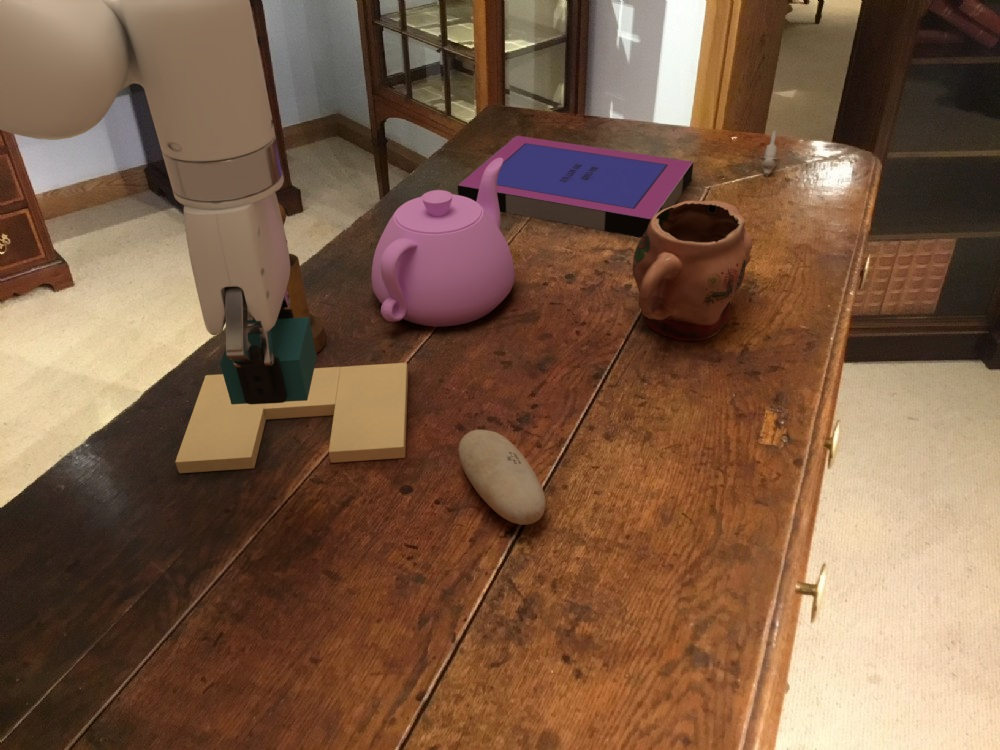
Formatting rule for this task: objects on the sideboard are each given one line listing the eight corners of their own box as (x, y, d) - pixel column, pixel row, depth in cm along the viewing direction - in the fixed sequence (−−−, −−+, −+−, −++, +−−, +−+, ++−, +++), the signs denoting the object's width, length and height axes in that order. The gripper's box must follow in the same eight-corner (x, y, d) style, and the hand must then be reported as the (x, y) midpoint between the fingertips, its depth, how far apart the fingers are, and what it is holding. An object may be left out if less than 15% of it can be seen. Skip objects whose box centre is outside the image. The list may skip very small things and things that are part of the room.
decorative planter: (696, 389, 91) (711, 275, 82) (594, 355, 96) (599, 246, 88) (760, 302, 104) (779, 197, 96) (667, 277, 110) (677, 175, 101)
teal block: (231, 404, 67) (219, 363, 65) (245, 360, 72) (235, 320, 70) (307, 400, 67) (298, 359, 65) (316, 356, 72) (309, 316, 70)
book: (516, 135, 142) (693, 161, 131) (516, 152, 144) (691, 180, 133) (457, 185, 127) (652, 219, 116) (458, 203, 129) (650, 239, 118)
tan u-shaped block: (178, 473, 83) (174, 462, 82) (208, 385, 94) (205, 375, 93) (405, 458, 84) (403, 446, 83) (408, 373, 95) (406, 362, 94)
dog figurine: (754, 184, 136) (756, 167, 131) (762, 140, 138) (765, 121, 132) (775, 187, 135) (778, 169, 130) (783, 141, 137) (786, 123, 132)
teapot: (450, 361, 96) (442, 254, 88) (332, 318, 104) (314, 216, 96) (558, 265, 113) (560, 167, 105) (449, 234, 121) (442, 141, 113)
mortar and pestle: (267, 334, 102) (235, 195, 91) (322, 324, 103) (296, 186, 92) (273, 365, 97) (239, 222, 86) (330, 354, 98) (303, 211, 87)
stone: (494, 421, 83) (570, 458, 74) (488, 482, 85) (562, 526, 75) (442, 426, 80) (515, 465, 71) (438, 489, 82) (508, 536, 72)
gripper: (199, 123, 65) (248, 320, 76) (132, 226, 52) (203, 448, 62) (297, 119, 66) (332, 315, 76) (257, 221, 52) (306, 443, 63)
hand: (273, 373), depth 69 cm, fingers closed on teal block, 6 cm apart
